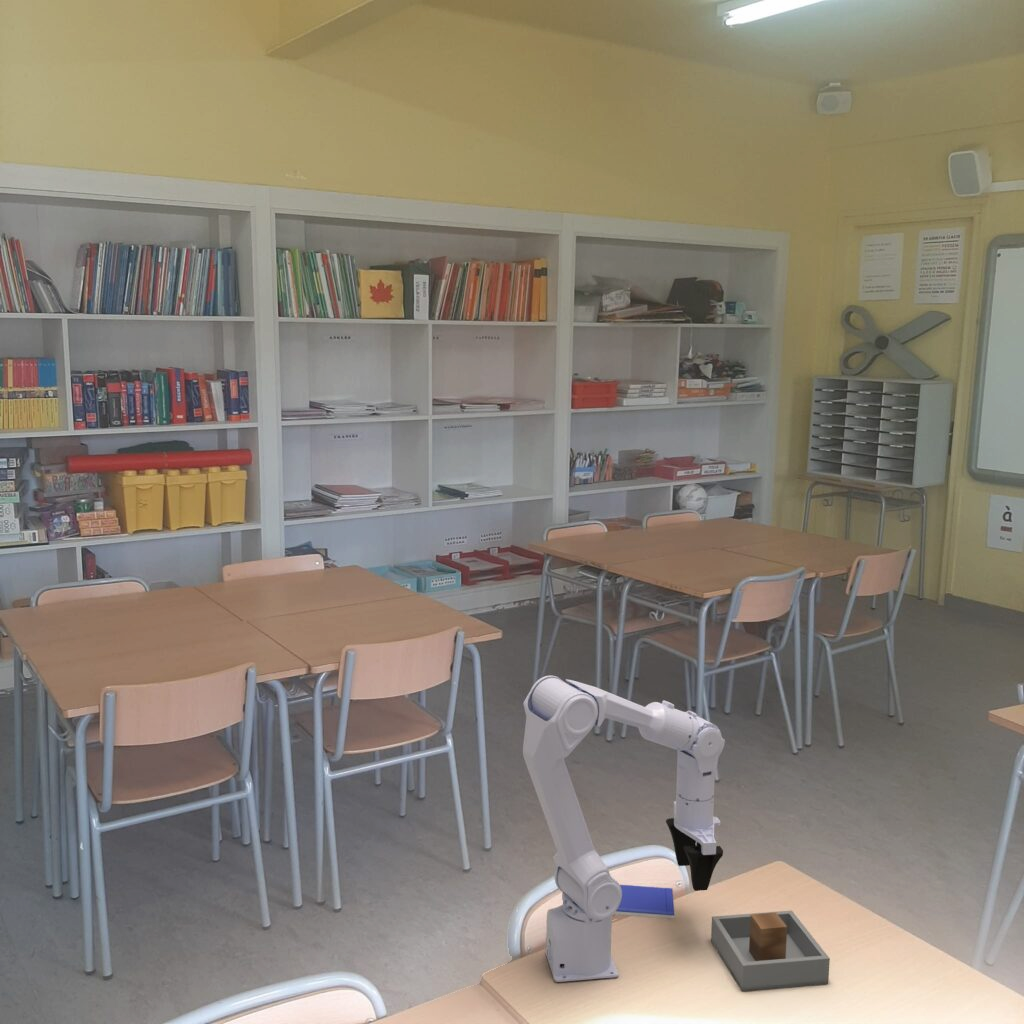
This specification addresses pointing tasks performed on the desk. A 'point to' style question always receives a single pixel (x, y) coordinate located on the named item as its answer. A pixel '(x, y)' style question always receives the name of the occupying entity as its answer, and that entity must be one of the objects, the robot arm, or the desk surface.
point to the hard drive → (646, 902)
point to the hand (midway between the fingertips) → (692, 876)
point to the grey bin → (797, 970)
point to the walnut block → (767, 937)
